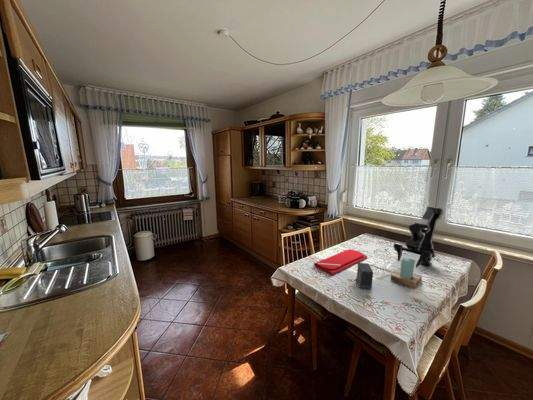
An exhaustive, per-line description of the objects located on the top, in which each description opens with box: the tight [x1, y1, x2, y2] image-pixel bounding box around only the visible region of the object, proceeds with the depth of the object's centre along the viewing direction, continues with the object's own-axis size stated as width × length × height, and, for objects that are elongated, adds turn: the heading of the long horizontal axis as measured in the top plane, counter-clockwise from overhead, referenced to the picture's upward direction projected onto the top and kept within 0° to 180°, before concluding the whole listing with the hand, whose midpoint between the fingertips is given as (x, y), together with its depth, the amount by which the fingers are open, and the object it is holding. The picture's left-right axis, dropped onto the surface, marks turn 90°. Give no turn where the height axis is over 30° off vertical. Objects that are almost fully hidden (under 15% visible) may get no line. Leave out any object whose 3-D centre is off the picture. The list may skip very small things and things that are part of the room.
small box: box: [356, 262, 374, 290], centre depth 125 cm, size 11×6×10 cm, turn 168°
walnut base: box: [390, 268, 423, 290], centre depth 129 cm, size 12×12×3 cm
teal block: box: [400, 257, 416, 279], centre depth 128 cm, size 5×5×10 cm
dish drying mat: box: [313, 248, 368, 276], centre depth 153 cm, size 16×41×4 cm, turn 127°
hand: (407, 264), depth 127 cm, fingers open, 9 cm apart
